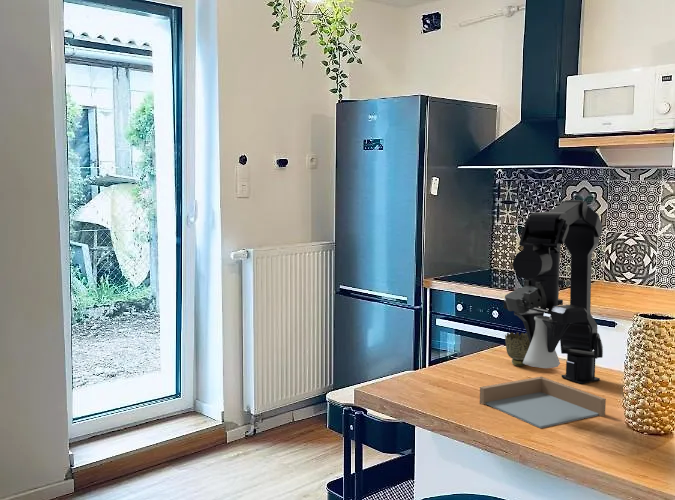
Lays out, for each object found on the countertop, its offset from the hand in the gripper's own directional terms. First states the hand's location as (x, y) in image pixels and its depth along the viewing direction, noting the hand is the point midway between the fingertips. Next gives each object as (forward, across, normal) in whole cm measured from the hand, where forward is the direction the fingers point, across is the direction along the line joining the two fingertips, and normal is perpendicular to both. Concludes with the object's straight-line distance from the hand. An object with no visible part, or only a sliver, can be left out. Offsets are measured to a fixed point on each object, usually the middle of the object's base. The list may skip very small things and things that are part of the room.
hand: (542, 349), depth 133 cm
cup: (+13, -31, +20) cm, 39 cm away
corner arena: (+13, -1, +1) cm, 13 cm away
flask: (+3, 0, 0) cm, 3 cm away
